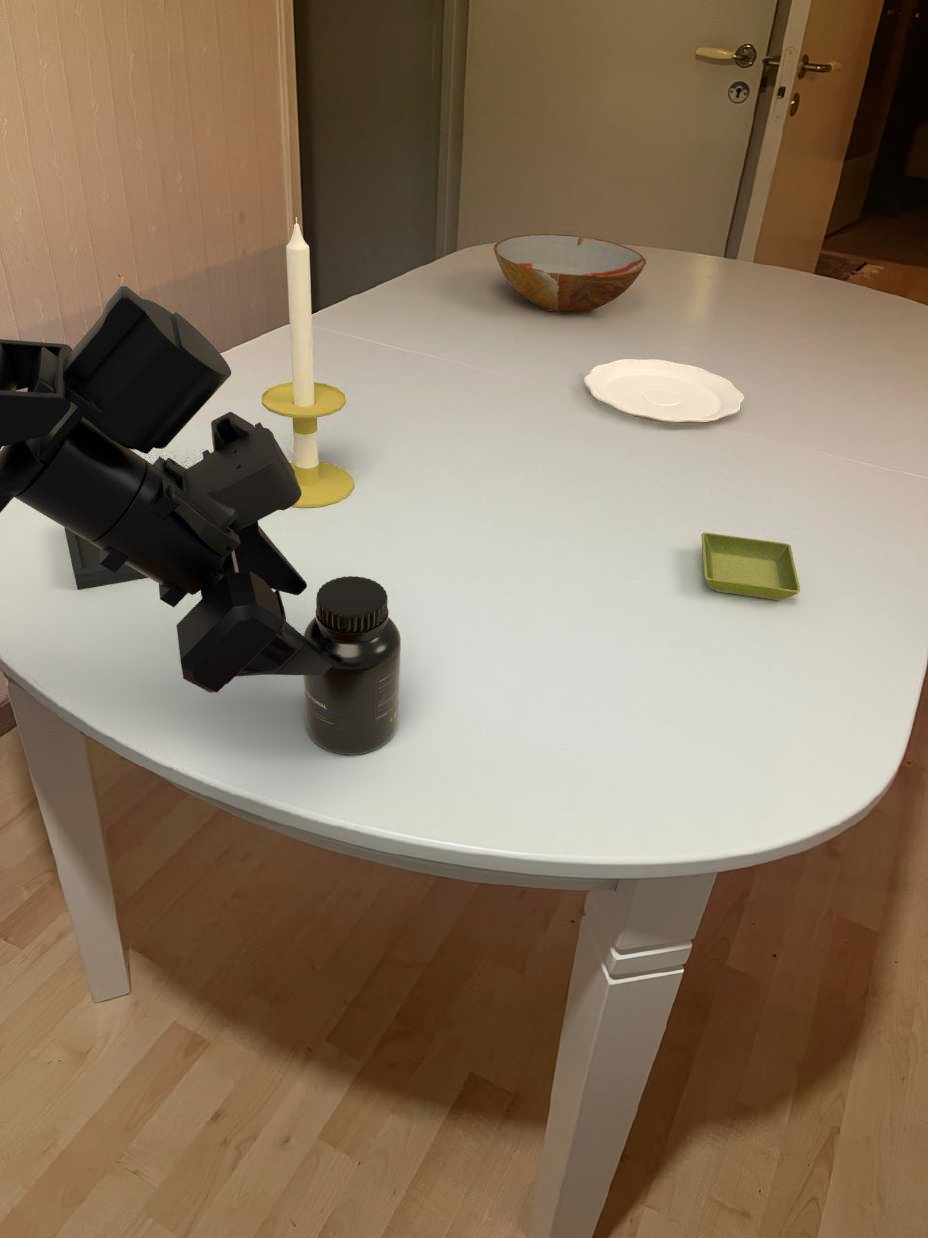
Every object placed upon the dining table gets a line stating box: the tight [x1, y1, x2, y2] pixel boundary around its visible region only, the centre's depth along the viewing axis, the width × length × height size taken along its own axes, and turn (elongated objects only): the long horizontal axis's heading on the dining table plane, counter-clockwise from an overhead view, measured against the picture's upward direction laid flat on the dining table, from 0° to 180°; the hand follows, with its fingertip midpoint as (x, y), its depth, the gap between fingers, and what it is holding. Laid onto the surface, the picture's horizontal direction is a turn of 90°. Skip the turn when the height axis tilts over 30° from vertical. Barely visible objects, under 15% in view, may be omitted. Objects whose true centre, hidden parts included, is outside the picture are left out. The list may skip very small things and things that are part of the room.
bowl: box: [493, 233, 647, 314], centre depth 154 cm, size 25×25×8 cm
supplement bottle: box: [302, 575, 402, 756], centre depth 65 cm, size 7×7×12 cm
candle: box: [261, 216, 355, 509], centre depth 91 cm, size 10×10×27 cm
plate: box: [583, 358, 745, 424], centre depth 124 cm, size 21×21×2 cm
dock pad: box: [63, 527, 148, 590], centre depth 86 cm, size 11×11×2 cm
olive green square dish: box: [700, 532, 801, 601], centre depth 88 cm, size 9×9×2 cm
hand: (314, 627), depth 63 cm, fingers open, 9 cm apart
